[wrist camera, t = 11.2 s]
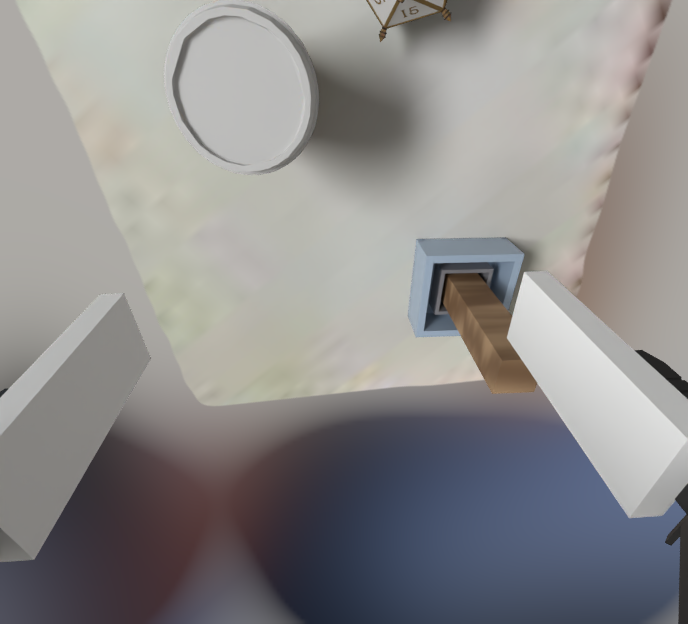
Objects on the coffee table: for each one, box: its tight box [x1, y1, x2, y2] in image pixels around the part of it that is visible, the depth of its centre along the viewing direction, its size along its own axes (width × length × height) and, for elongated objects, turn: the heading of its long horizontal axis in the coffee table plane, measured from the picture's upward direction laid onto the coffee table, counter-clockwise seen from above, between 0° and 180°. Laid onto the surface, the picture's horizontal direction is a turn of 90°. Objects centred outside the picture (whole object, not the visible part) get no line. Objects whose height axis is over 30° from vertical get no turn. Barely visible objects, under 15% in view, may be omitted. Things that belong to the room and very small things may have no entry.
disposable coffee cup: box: [164, 0, 319, 175], centre depth 27 cm, size 10×10×12 cm
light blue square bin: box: [408, 238, 524, 337], centre depth 42 cm, size 10×10×4 cm
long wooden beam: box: [441, 273, 537, 394], centre depth 36 cm, size 4×4×16 cm
